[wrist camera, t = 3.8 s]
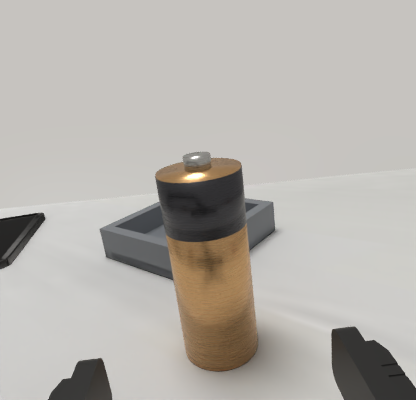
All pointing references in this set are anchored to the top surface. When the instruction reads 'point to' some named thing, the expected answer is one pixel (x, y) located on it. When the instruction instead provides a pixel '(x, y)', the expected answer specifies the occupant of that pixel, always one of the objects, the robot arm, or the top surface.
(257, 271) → the top surface
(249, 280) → the battery cell
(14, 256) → the phone
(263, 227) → the tray
